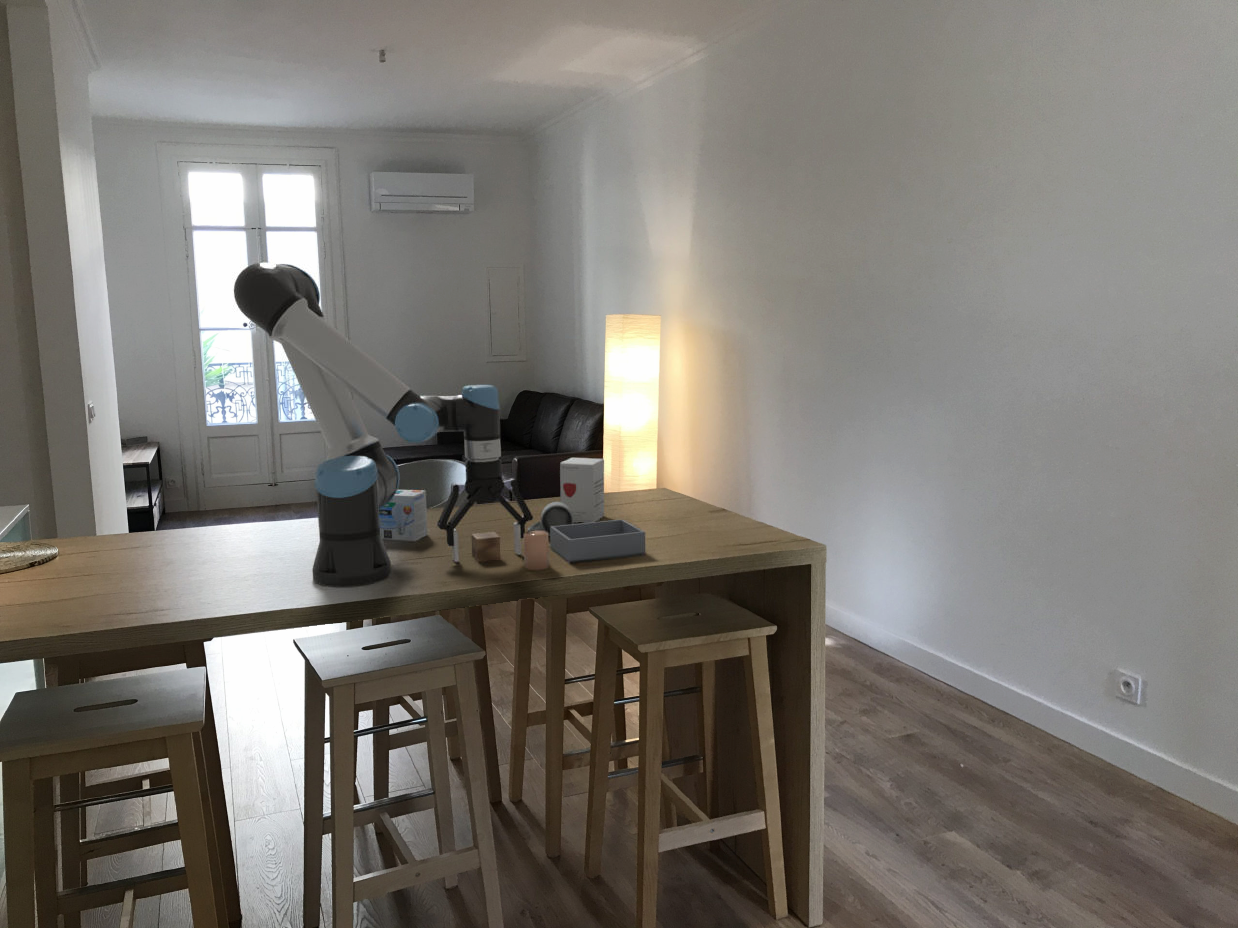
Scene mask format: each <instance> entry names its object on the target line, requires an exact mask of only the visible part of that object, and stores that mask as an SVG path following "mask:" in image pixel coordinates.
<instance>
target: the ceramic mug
mask: <svg viewBox="0 0 1238 928" xmlns="http://www.w3.org/2000/svg"><path fill="white" fill-rule="evenodd" d="M540 515H541V516H540V520H539V521H537V522H535V523H534V524H532V525H530V526H529V527H528V528H527V532H529V531H545V532H548V537H550V526H560V525H570V524H574V522H573V515H572V513H571V511H570V509H569V507H568V506H567V505H565V504H564V503H561V501H552V502H550V503H548V504H547V505H546V506H545V507H543V509H542V511H541V514H540Z"/></svg>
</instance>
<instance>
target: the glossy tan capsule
mask: <svg viewBox="0 0 1238 928" xmlns="http://www.w3.org/2000/svg"><path fill="white" fill-rule="evenodd" d="M523 550H524V551H523V552H524V553H523V554H524V555H523V557H524V559H523V560H524V568H525V569H526V570H529V571H541V570H546V569H549V567H550V562H549V561H550V559H549V556H550V555H549V551H550V550H549V536H548V532H545V531H529V532H528V531H527V532H526V531H525V533H524V538H523Z"/></svg>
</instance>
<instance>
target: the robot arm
mask: <svg viewBox="0 0 1238 928" xmlns="http://www.w3.org/2000/svg"><path fill="white" fill-rule="evenodd" d="M233 295H234V296H233V297H234V300H235V303H236V305H237V307H238V309H239V310H240V312H241V313H242V314H243V315H244V316H245V317H246V318H247V319H248V320H250V321H251V322H252V323H253V324H255V325H257V327H259V328H260V329H262V330H263V331H264V332H266V333H267V335H268V336H269V339H270V340H272V341H275V342H277V343H279V344H280V345H281V346H282V348H283V351H284V353H285V355H286V357H287V359H288V362H289V364H290V366H291V368H292V370H293V373H294V375H295V377H296V380H297V381H298V384H299V386H300V388H301V391H302V393H303V395H304V397H305V399H306V402H307V404H308V406H309V408H310V410H311V413H312V415H313V417H314V419H315V422H316V423H317V426H318V428H319V430H320V432H321V434H322V437H323V439H324V442H325V443H326V446H327V448H328V454H327V457H326V460H325V461H323V462H321V463H320V464H319V465H318V466H317V467H316V470H315V478H314V486H315V489H316V490H315V492H316V505H317V506H316V507H317V518H318V520H317V521H318V522H317V523H318V533H319V534H318V535H319V543H318V546H317V549H316V550H317V551H316V554H315V559H314V561H313V565H312V569H311V570H312V580H313V581H314V583H316V584H318V585H321V586H327V587H355V586H361V585H362V586H363V585H368V584H373V583H376V582H380V581H382V580H385V579H387V578H389V577H390V576H391V575H392V563H391V559H390V556H389V554H388V552H387V550H386V546H385V545H384V542H383V539H381V536H380V521H379V508H381V507H382V506H384V505H386V504H387V503H388V502H389V501H390V500H391V499H392V498H393V496H394V495H395V493H396V491H397V490H399V486H400V481H401V477H400V470H399V466H398V465H397V464H396V461H394V459H393V458H392V457H391V456H389V454H386V453H385V451H384V449H383V446H382V445H381V442H380V440H379V438H377V437H375V436H371V435H370V434H369V433H368V430H367V428H366V426H365V424H364V421H363V419H362V417H361V415H360V413H359V410H358V407H357V406H356V404H355V402H354V399H353V397H352V395H351V393H352V394H354V395H355V396H356V397H358V399H360V400H361V401H362V402H363V403H365V404H367V405H368V406H369V408H371V409H373V410H374V411H376V412H377V414H379V415H381V416H382V417H383V418H385V419H386V420H387V421H388V422H389V423H390V424H392V425H393V426H394V427H395V429H396V432H397V434H398V435H399V436H400V438H401V439H402V440H404V441H406V442H408V443H417V444H418V443H422V442H426V441H428V440H430V439H431V438H433V437H434V436H435V435H436V434H438V433H440V432H441V433H442V432H443V433H444V432H463V440H464V457H465V458H466V459H467V460H465V463H464V464H465V482H464V484H463V483H461V484H459V483H456V482H452V483H451V485H450V494H449V496H448V498H447V500H446V503H445V505H444V508H443V510H442V512H441V515H440V517H439V519H438V521H437V524H436V526H437V528H439V529H440V530H443V531H445V532H446V544H447V545H448V547H451V551H452V560H453V561H454V562H455V563H458V562H459V561H460V560H459V559H460V558H459V557H460V556H459V539H458V538H459V537H458V530H456V528H457V526H458V525H459V523H460V522H461V521H462V520H463V518H464V517H465V516H466V514H467V513H468V511H469V510H470V509H471V508H472V507H473V506H474V504H475V503H476V504H484V503H490V504H491V503H494V502H495V501H497V502H498V503H500V505H501V507H503V508H504V509H505V510H506V511H507V513H509V514H510V515H511V516H512V517H513V519H515V520H516V522H513V538H514V539H513V543H514V546H513V547H514V548H513V549H514V553H515V554H516V555H518V556H519V555H520V556H521V555H522V539H524V533H525V532H526V527H525V526H526V524H527V522H531V521H533V520H534V517H533V515H532V512H531V510H530V508H529V507H528V505H527V503H526V501H525V499H524V497H523V496H522V494H521V492H520V491H519V487H518V481H517V480H516V479H515V478H513V477H511V478H509V479H507V480H504V479H503V475H502V474H503V472H502V469H503V468H502V460H501V459H500V457H501V456H502V447H501V421H500V419H501V416H500V415H501V413H500V412H501V411H500V408H501V407H500V402H499V400H500V399H499V391H498V388H497V387H496V386H495V385H491V384H475V385H474V384H473V385H472V384H469V385H465V386H463V387H462V391H461V394H458V395H425V394H421V395H418V393H416V392H415V391H414V390H412V388H410V387H409V386H408V385H406V384H405V383H403V382H402V381H401V380H400V379H398V378H397V377H396V376H395V375H393V374H392V373H391V372H390V371H389V370H387V369H386V368H385V367H384V366H383V365H381V364H380V363H379V362H377V361H376V360H374V358H372V357H370V355H368V353H366V352H365V351H363V350H362V349H361V348H360V347H358V346H357V345H356V344H354V343H352V341H351V340H350V339H348V338H347V337H346V336H344V334H343V333H340V332H339V331H338V330H337V329H336V328H335V327H333V326H332V325H330V324H329V323H328V322H326V321H325V319H326V317H325V315H324V313H323V311H322V309H321V306H320V301H321V298H320V297H321V295H320V291H319V287H318V284H317V283H316V281H315V279H314V278H313V277H312V276H311V275H310V274H309V273H308V272H306V270H303V269H301V268H299V267H298V266H295V265H293V264H287V263H273V262H272V263H271V262H257V263H253V264H250V265H248V266H247V267H246V268H244V269H242V270H241V272H240V273H239V274H238V275H237V277H236V279H235V281H234V285H233ZM350 392H351V393H350ZM505 488H507V490H509V491H510V493H511V494H512V496H513V498H514V500H515V502H516V504H517V505H518V507H519V508H520V511H521V513H522V515H521V514H520V513H519V512H518V511H517V510H516V509H515V508H514V507H513V506H512V505H511V504H510V502H508V501H507V499H505V497H504V496H503V495H502V494H501V493H502V491H503V490H504V489H505ZM463 491H465V492H466V494H467V496H466V497H465V498H464V500H463V502H462V503H461V505H460V506H459V507H458V509H457V510H456V512H455V513H454V514H453V516H451V514H452V512H453V510H454V507H455V506H456V504H457V501H458V499H459V495H461V494H462V493H463ZM450 517H451V518H450Z"/></svg>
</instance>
